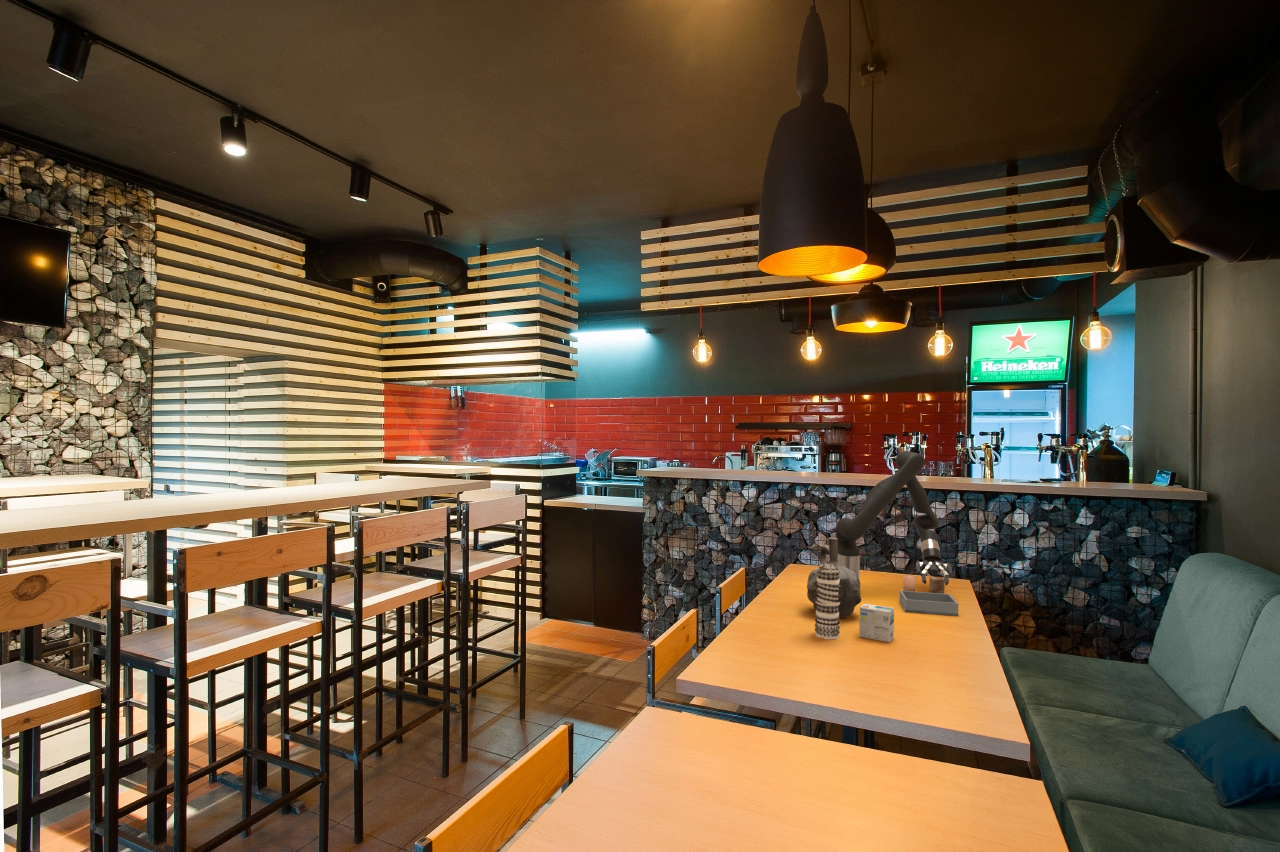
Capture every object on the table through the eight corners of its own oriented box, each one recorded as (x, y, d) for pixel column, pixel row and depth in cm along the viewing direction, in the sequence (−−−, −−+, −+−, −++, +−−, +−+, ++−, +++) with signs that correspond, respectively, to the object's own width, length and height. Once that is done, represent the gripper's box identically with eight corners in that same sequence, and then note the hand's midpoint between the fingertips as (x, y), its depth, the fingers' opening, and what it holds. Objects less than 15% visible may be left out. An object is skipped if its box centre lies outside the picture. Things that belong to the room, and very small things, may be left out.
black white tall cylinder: (810, 637, 227) (812, 566, 227) (816, 629, 236) (818, 561, 235) (837, 641, 223) (838, 569, 223) (842, 633, 231) (843, 564, 231)
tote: (905, 612, 260) (905, 599, 260) (899, 602, 274) (899, 590, 274) (958, 616, 255) (958, 603, 255) (949, 606, 270) (949, 594, 269)
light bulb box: (894, 637, 228) (894, 607, 228) (890, 643, 223) (891, 611, 222) (863, 632, 234) (863, 602, 234) (858, 637, 228) (859, 606, 228)
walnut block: (931, 602, 275) (931, 579, 275) (929, 599, 279) (929, 576, 279) (944, 603, 273) (944, 580, 273) (941, 600, 278) (942, 577, 278)
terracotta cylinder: (903, 600, 277) (904, 577, 277) (902, 597, 282) (902, 574, 282) (916, 601, 276) (916, 578, 276) (914, 598, 281) (914, 575, 281)
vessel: (790, 606, 265) (791, 533, 265) (835, 602, 272) (836, 531, 272) (826, 624, 242) (827, 544, 242) (874, 619, 249) (875, 542, 249)
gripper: (915, 546, 288) (919, 577, 277) (949, 548, 285) (955, 580, 274) (912, 555, 294) (917, 587, 283) (946, 557, 290) (952, 589, 279)
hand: (936, 583), depth 278 cm, fingers open, 8 cm apart
